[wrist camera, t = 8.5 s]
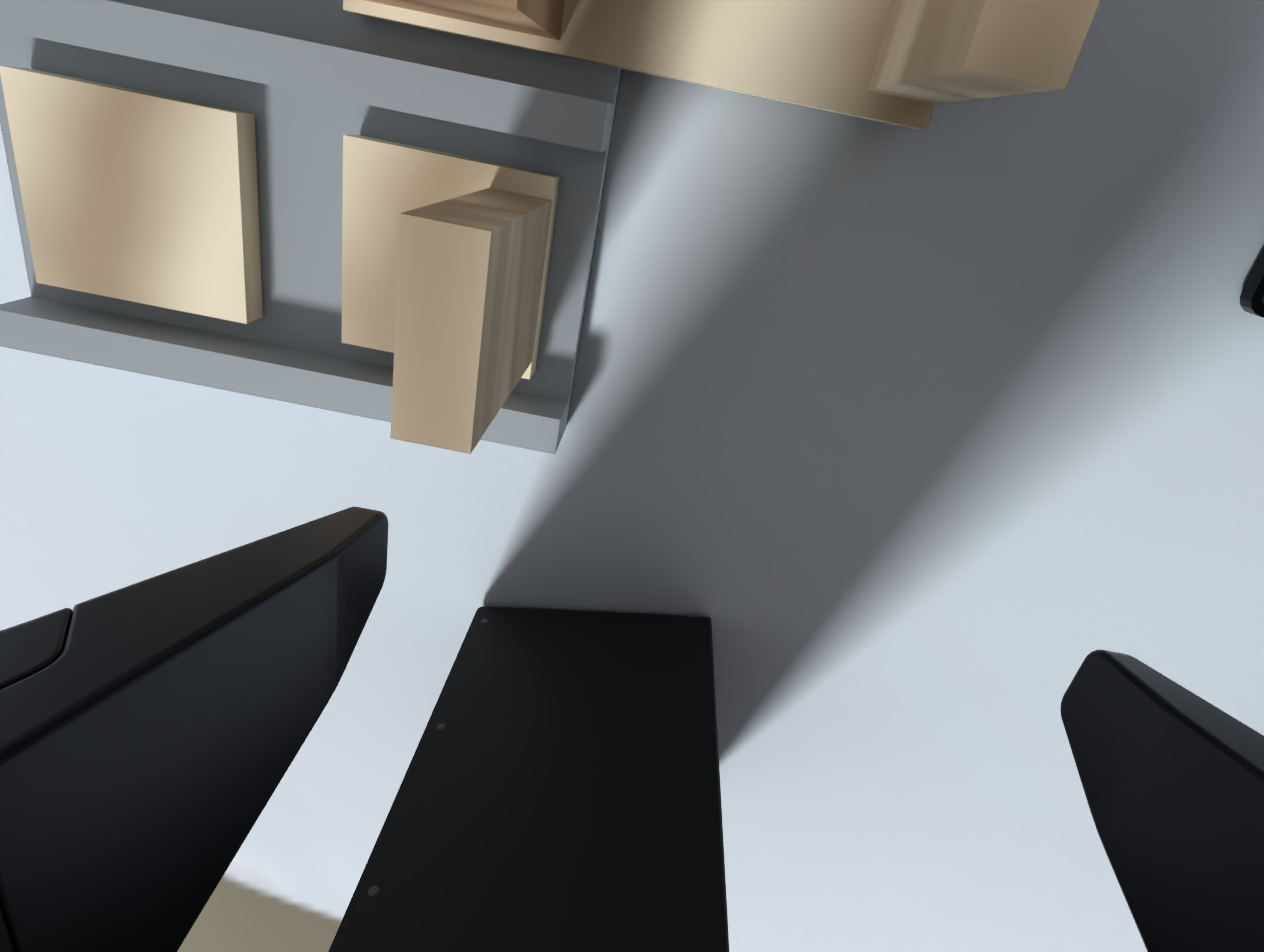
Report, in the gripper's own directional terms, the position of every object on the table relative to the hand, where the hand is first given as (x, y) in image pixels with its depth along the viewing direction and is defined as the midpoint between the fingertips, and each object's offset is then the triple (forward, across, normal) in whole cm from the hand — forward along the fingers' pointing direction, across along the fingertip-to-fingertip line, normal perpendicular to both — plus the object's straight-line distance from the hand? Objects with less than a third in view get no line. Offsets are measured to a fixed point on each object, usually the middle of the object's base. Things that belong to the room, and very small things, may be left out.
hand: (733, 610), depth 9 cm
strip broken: (+12, +11, -1) cm, 16 cm away
